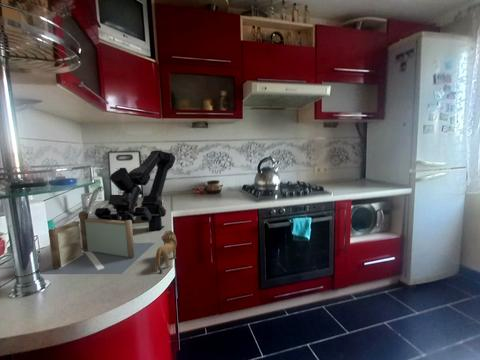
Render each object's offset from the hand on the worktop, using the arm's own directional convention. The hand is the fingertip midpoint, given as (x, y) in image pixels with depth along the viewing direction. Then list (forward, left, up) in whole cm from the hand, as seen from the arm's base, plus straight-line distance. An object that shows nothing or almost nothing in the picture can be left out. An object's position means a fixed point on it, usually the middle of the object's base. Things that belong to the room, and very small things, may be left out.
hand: (115, 236), depth 84 cm
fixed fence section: (+3, -13, -6) cm, 15 cm away
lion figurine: (+6, +19, -7) cm, 22 cm away
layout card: (+2, -4, -7) cm, 8 cm away
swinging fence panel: (0, -2, -6) cm, 6 cm away
